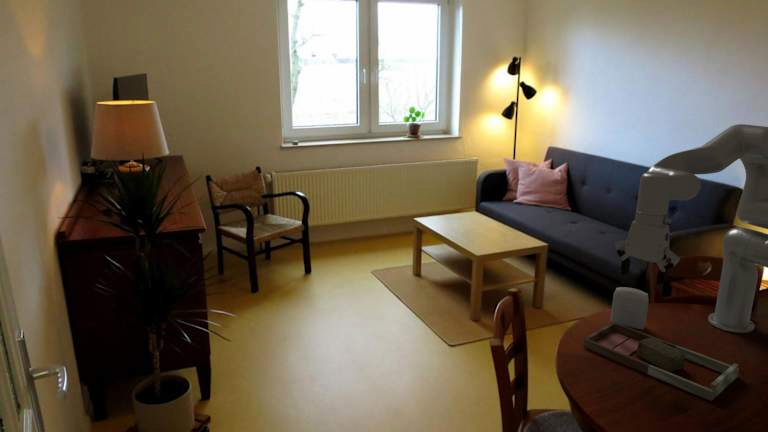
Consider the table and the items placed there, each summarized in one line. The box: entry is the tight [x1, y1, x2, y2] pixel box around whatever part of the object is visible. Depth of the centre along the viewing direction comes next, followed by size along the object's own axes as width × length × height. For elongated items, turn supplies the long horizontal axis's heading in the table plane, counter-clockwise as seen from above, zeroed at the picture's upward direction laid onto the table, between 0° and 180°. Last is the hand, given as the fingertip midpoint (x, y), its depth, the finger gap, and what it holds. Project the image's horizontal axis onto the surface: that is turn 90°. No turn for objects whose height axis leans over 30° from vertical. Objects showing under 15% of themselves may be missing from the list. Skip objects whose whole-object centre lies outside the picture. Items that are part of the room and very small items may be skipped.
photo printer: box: [610, 286, 650, 330], centre depth 177 cm, size 10×4×12 cm, turn 59°
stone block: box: [635, 338, 686, 373], centre depth 156 cm, size 6×12×5 cm, turn 28°
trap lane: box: [583, 322, 740, 402], centre depth 156 cm, size 17×36×4 cm, turn 39°
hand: (642, 278), depth 154 cm, fingers open, 9 cm apart
